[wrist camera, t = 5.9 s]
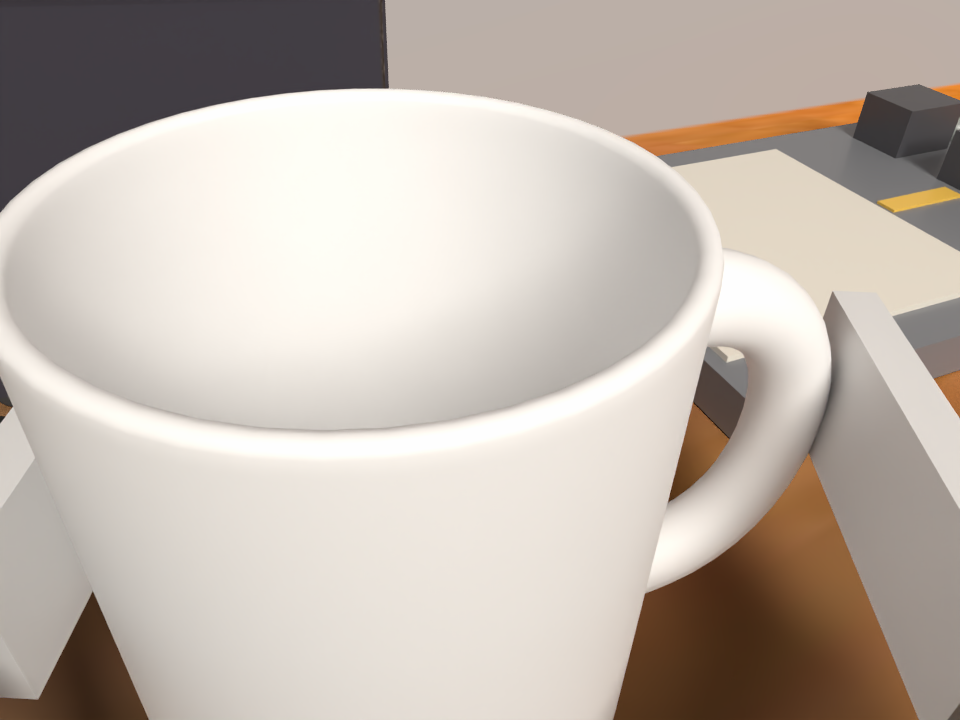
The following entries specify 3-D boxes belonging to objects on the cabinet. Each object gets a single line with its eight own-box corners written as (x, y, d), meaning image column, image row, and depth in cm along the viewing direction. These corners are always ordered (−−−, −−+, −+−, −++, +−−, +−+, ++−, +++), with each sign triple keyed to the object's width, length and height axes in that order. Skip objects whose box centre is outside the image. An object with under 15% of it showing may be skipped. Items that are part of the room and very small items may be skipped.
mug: (662, 465, 21) (758, 57, 14) (871, 780, 14) (1204, 302, 8) (176, 563, 18) (30, 106, 11) (172, 1012, 11) (-152, 548, 5)
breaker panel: (734, 443, 21) (766, 337, 19) (509, 215, 31) (514, 129, 29) (1226, 283, 29) (1288, 194, 27) (916, 141, 39) (944, 68, 37)
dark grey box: (386, 300, 26) (355, -279, 17) (404, 380, 23) (377, -283, 14) (29, 333, 24) (-219, -300, 15) (-8, 426, 21) (-353, -313, 12)
